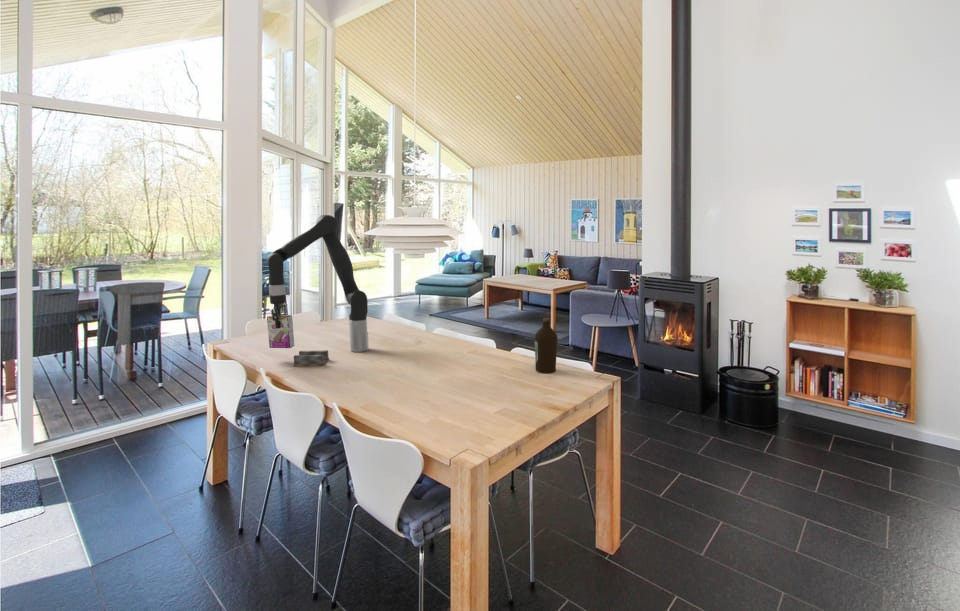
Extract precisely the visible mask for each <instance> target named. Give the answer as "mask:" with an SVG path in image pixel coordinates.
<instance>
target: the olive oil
mask: <svg viewBox="0 0 960 611" xmlns="http://www.w3.org/2000/svg"><path fill="white" fill-rule="evenodd" d="M558 342H559V340H558V334H557V333H556V331H554V329H553V328H552V327H551V319H550V318H549V317H543V318H542V326H541V327H540V328H539V329H538V330H537V332H535V336H534V358H535V366H534V367H535V372H537V373H540V374H553V373H555V372H556V370H557V355H558V353H557V352H558Z"/></svg>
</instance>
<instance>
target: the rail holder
mask: <svg viewBox="0 0 960 611" xmlns="http://www.w3.org/2000/svg"><path fill="white" fill-rule="evenodd" d="M329 360H330V357H329V350H327V349H326V350H300V351H298V355H297V354H295V355H293V367H298V368H301V367H302V368H304V367H307V368H308V367H324V366H325V365H326V364H327V363H328V361H329ZM323 365H324V366H323Z"/></svg>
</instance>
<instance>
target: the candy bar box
mask: <svg viewBox="0 0 960 611" xmlns="http://www.w3.org/2000/svg"><path fill="white" fill-rule="evenodd" d="M274 317H275V316H274ZM276 318H277V317H276ZM266 320H267V331H268V334H267V335H268V344H269V345H268V346H269V349H292V348H293V347H295V337H294V323H293V315H292V314H286V315H281V317H280V324H281V328H279V329H277V328H276V324H275V321H273V317H272V314H270V315H267V316H266Z"/></svg>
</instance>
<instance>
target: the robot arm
mask: <svg viewBox="0 0 960 611" xmlns="http://www.w3.org/2000/svg"><path fill="white" fill-rule="evenodd" d="M337 228H338V220H337V219H336V218H335V217H334V216H332V215H330V214H322V215H320V216H318V217H317V219H316V224H315V225H313V226H312V227H311V228H309V229H308V230H306V231H305V232H303V233H301V234H299V235H297V236H296V237H294V238H292V239H291V240H289V241H288V242H286V243H285V244H284V245H283V246H280V247H279V248H278V249H277V248H276V250H274V251H272V252H271V253H269V254H268V255H267V256H266V260H265V261H266V264H267V265H268V266H267V267H268V272H269V274H268V284H269V285H268V293H269V303H270V304H271V305H273V308H271V315H272V317H273V321H275V324H276V328H277V329H279V328H281V324H280V317H281V315H287V307H286V306H287V305H286V303H287V294H286V293H287V292H286V287H285V286H286V285H285V277H284V268H285V267H284V266H285V264H284V262H285V261H287V260H288V259H291V258H293V257H295V256H296V255H298V254H299V253H300V252H302V251H303V250H304V249H305V250H306V248H307V247H309V246H310V245H312V244H313V243H314V242H316V241H318V240H319V239H322V240H323V242H324V243H325V247H326V249H327V253H328V255H329V258H330V261H331V264H332V266H333V268H334V270H335V273H336V274H337V277H338V280H339V281H340V283H341V286H342V289H343V292H344V296H345V299H346V302H347V304H349V305H350V314H349V315H348V321H349V322H348V324H349V344H350V351H351V352H353V353H361V352H367V351H368V350H369V332H368V325H367V324H368V322H367V319H368V318H367V316H368V308H369V306H368V303H369V302H368V296H367V294H366V293H365V292H364V291H363V290H360V289H359V286H358V285H357V283H356V281H355V277H354V268H353V263H352V260H351V258H350V256H349V254H348V252H347V250H346V248H345V247H344V245H343V243H342V242H341V240H340V239H339V236H338V234H337V231H336V230H337ZM274 316H275V317H274ZM276 317H277V318H276Z"/></svg>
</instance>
